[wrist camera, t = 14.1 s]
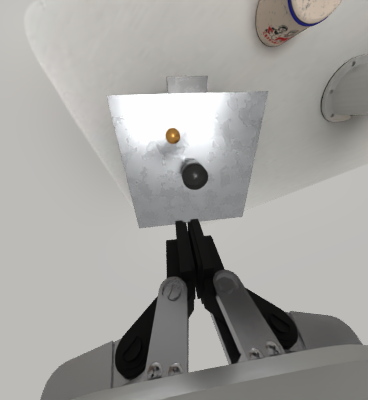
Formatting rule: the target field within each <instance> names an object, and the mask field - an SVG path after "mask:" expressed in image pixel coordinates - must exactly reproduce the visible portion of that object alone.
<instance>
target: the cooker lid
mask: <svg viewBox="0 0 368 400" xmlns="http://www.w3.org/2000/svg"><path fill="white" fill-rule="evenodd" d="M267 94H268V91H262V92H224V93H185V94H146V95H107V99H108V104H109V108H110V112H111V116H112V120H113V124H114V128H115V132H116V136H117V140H118V144H119V148H120V152H121V156H122V160H123V164H124V168H125V172H126V177H127V181H128V185H129V189H130V193H131V197H132V201H133V205H134V209H135V213H136V217H137V221H138V225H139V228H146V227H153V226H162V225H172V224H175V221H179V220H183V222H186V223H188V222H189V221H190V220H191V219H198V220H199V221H208V220H217V219H226V218H235V217H242V216H243V211H244V206H245V201H246V196H247V192H248V187H249V182H250V177H251V172H252V167H253V162H254V157H255V153H256V148H257V143H258V138H259V133H260V128H261V123H262V118H263V113H264V109H265V104H266V99H267Z"/></svg>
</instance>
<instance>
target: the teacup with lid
mask: <svg viewBox="0 0 368 400" xmlns="http://www.w3.org/2000/svg"><path fill="white" fill-rule="evenodd" d="M341 1H342V0H260V1H259V4H258V8H257V14H256V28H257V32H258V35H259V38H260V39H261V41H262V42H263V43H264V44H266V45H268V46H272V47H273V46H278V45H280V44H282V43H284V42H286V41H287V40H289V39H290V38H292V37H294V36H295V35H297V34H299V33H300V32H302V31H304V30H305V29H307V28H308V27H310V26H314V25H316V24H318V23H320V22H322V21H323V20H325V19H326V18H327V17H328V16H329V15H330V14H331V13H332V12H333V11H334V10H335V9H336V7H337V6H338V5H339V4H340V2H341Z"/></svg>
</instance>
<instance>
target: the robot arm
mask: <svg viewBox="0 0 368 400" xmlns="http://www.w3.org/2000/svg"><path fill="white" fill-rule="evenodd" d="M322 112H323V115H324V117H325V118H326V119H327V120H328V121H331V122H342V121H346V120H348V119H350V118H352V117H353V116H355V115H368V54H366V55H361V56H358V57H355V58H353V59H351V60H349V61H348V62H347V63H345V64H344V65H343V66H342V67H341V68H340V69H339V70H338V71H337V72H336V73H335V74H334V76H333V77H332V79H331V80H330V82H329V84H328V86H327V87H326V90H325V92H324V95H323V99H322ZM175 224H176V236H177V239H175V240H167V241H166V252H167V254H166V257H167V279H166V280H165V281H163V282H162V284H161V286H160V288H159V293H158V297H157V298H156V299H155V300H154V301H153V302H152V304H151V305H150V306H149V307H148V308H147V309H146V310H145V311H144V313H143V314H142V315H141V316H140V317H139V318H138V320H137V321H136V322H135V323H134V324H133V325H132V327H131V328H130V329H129V330H128V331H127V332H126V333H125V335H124V336H123V337H122V339H119V340H117V341H115V342H113V341H111V342H109V343H107V344H104V345H102V346H100V347H98V348H95V349H93V350H91V351H89V352H87V353H84V354H82V355H80V356H78V357H76V358H74V359H71V360H69V361H67V362H65V363H64V364H62V365H61V366H59V368H58V369H57V370H56V371H55V372H54V373H53V374H52V375H51V377H50V378H49V380H48V381H47V383H46V385H45V388H44V390H43V393H42V396H41V400H368V345H363V344H362V343H361V341H360V340H359V339H358V337H357V336H356V334H355V333H354V332H353V330H352V329H351V328H350V327H349V326H348V325H347V324H345V323H344V322H343V321H341V320H340V319H338V318H336V317H333V316H328V315H320V314H311V313H303V312H294V311H290V312H289V313H288V312H284V311H282V310H281V309H280V308H278V307H276V306H275V305H273V304H271V303H270V302H268V301H266V300H265V299H263V298H261V297H260V296H258V295H257V294H255V293H253V292H252V291H250V290H248V289H246V288H245V287H244V285H243V284H242V282H241V281H240V279H239V278H238V276H237V275H236V274H234V273H233V272H231V271H229V270H225V269H224V267H223V264H222V262H221V259H220V257H219V254H218V252H217V249H216V247H215V244H214V242H213V239H212V237H211V236H204V235H203V232H202V229H201V226H200V223H199V220H198V219H191V220H190V221H189V222H188V231H187V226H186V222H183V220H179V221H175ZM195 287H196V292H197V297H198V299H200V298H201V301H202V304H204V306H205V309H207V310H208V311H209V312H210V314H211V317H212V320H213V323H214V325H215V328H216V331H217V333H218V336H219V339H220V341H221V344H222V347H223V350H224V352H225V355H226V358H227V361H228V363H229V365H226V366H220V367H216V368H210V369H205V370H200V371H195V372H190V373H188V336H189V335H188V330H189V329H188V328H189V325H188V324H189V320H188V319H189V317H190V315H191V314H192V312H193V310H194V299H195Z"/></svg>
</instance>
